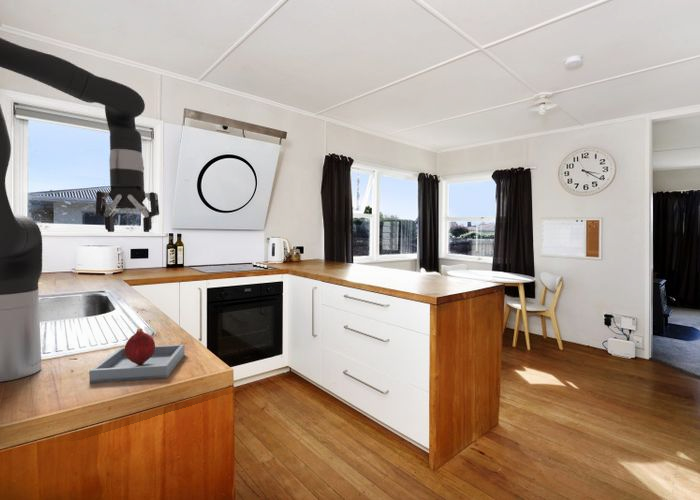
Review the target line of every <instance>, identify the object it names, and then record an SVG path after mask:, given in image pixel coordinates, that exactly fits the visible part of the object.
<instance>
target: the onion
mask: <svg viewBox="0 0 700 500" xmlns="http://www.w3.org/2000/svg"><path fill="white" fill-rule="evenodd" d="M155 346H156V343H155V340H154V338H153V337H152V336H151V335H150V334H149V333H146V332H144V331H143V328H140V327H138V328H137V329H136V332H135V334H133V335H131V336H130V337H129V339H127V340H126V343H125V346H124V348H125V350H124V352H125V356H126V357H127V358H128V359H129V360H130V361H131V362H133V363H135V364H137V365H142V364H143V363H145V362H146V361H147V360H148V359H149V358H150V357H151V356H152V355H153V353H154V351H155Z"/></svg>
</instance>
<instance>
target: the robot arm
mask: <svg viewBox="0 0 700 500" xmlns="http://www.w3.org/2000/svg"><path fill="white" fill-rule="evenodd" d="M0 68H2V69H5V70H9V71H10V72H14V73H16V74H18V75H22V76H24V77H27V78H29V79H32V80H35V81H37V82H39V83H42V84H44V85H46V86H48V87H52V88H54V89H56V90H58V91H59V92H62V93H64V94H66V95H69V96H71V97H73V98H75V99H78V100H80V101H83V102H85V103H89V104H93V103H94V104H95V103H96V104H99V105H102V106H104V113H105V119H106V124H107V127H108V131H109V152H110V153H109V160H108V161H109V186H110V190H109V192H106V191H99V190H98V191H96V193H95V194H96V196H95V197H96V198H95V213H96V215H99V216H101V217H104V228H105V230H107V232H108V233H114V232H115V218H114V216H115V214H116V213H117V212H119V211H120V210H121V209H123V210H128V209H131V210H132V209H133V210H136V209H137V210H138V211H139V212H140V213H141V214H142V215H143V216H144V217H143V219H142V220H143V221H142V222H143V223H142V225H143V233H150V231H151V230H152V224H153V223H152V218H154V217H156V216H159V215H160V208H159V207H160V206H159V198H158V197H159V196H158V193H156V192H152V191H151V192H146V191H145V174H144V173H145V172H144V170H145V166H144V158H143V145H142V141H143V140H142V135H141V133H140V132H139V130H137V127H136V118H137V117H140V116H141V115H142V114H143V113H144V111H145V107H146V103H145V100H144V98H143V97H142V95H140V94H139V93H138V92H137V91H136V90H135V89H133V88H132V87H130V86H128V85H125V84H123V83H121V82H117V81H115V80H113V79H108V78H106V77H102V76H100V75H97V74H95V73H93V72H91V71H89V70H87V69H85V68H84V67H81V66H79V65H77V64H75V63H74V62H71V61H69V60H67V59H64V58H62V57H60V56H57V55H54V54H52V53H48V52H44V51H41V50H37V49H33V48H30V47H27V46H23V45H20V44H17V43H13V42H12V41H9V40H6V39H4V38H2V37H0ZM11 154H12V145H11V139H10V136H9V131H8V126H7V123H6V119H5V116H4V112H3V108H2V104H0V383H1V382H7V381H13V380H18V379H21V378H25V377H29V376H31V375H34V374H35V373H38V372H39V371H41V370H42V361H43V360H42V347H41V346H42V342H41V320H40V297H39V296H40V295H39V293H40V292H39V281H40V278H41V277H42V273H43V236H42V231H41V229H40V227H39V225H38V224H37V222H36V221H34V220H33V218H31V217H28V216H26V215H23V214H18V213H13V210H12V207H11V204H10V201H9V197H8V192H7V188H6V187H7V186H6V178H7V177H6V176H7V172H8V169H9V164H10V159H11ZM109 198H110V200H111V201H112V202H110V204H109V205H108V206H107V201H108V200H109ZM146 199H147V200H148V201H149V202H150V203H149V204H150V210H149V209H148V207H147V206H146V205H145V204H144V201H145V200H146Z"/></svg>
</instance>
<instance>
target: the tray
mask: <svg viewBox="0 0 700 500" xmlns="http://www.w3.org/2000/svg"><path fill="white" fill-rule="evenodd" d="M124 350H125V347H119V348H118V349H117V350H115V351H114V352H113V353H111V354H110V355H109V356H107V357H106V358H105V359H103V360H102V361H100V362H99V363H98V364H96V365H95V366H94V367H92V368H91V369H90V370H89V372H88V374H89V376H88V379H89V380H88V381H89V384H98V383H114V382H128V381H141V380H143V381H144V380H157V379H159V380H160V379H168V377H169V376H170V375H171V373H172V372H173V370H174V369H175V368H176V367H177V365H178V364H179V363H180V362H181V360H182V359H183V358H184V357H185V344H171V345H170V344H168V345H167V344H166V345H155V351H154V353H153V355H152V356H151V357H150V358H149V359H148V360H147V361H146V362H145V363H143V364H142V365H137V364H135V363H133V362H131V361H130V360H129V359H128V358H127V357H126V356H125V352H124Z"/></svg>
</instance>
